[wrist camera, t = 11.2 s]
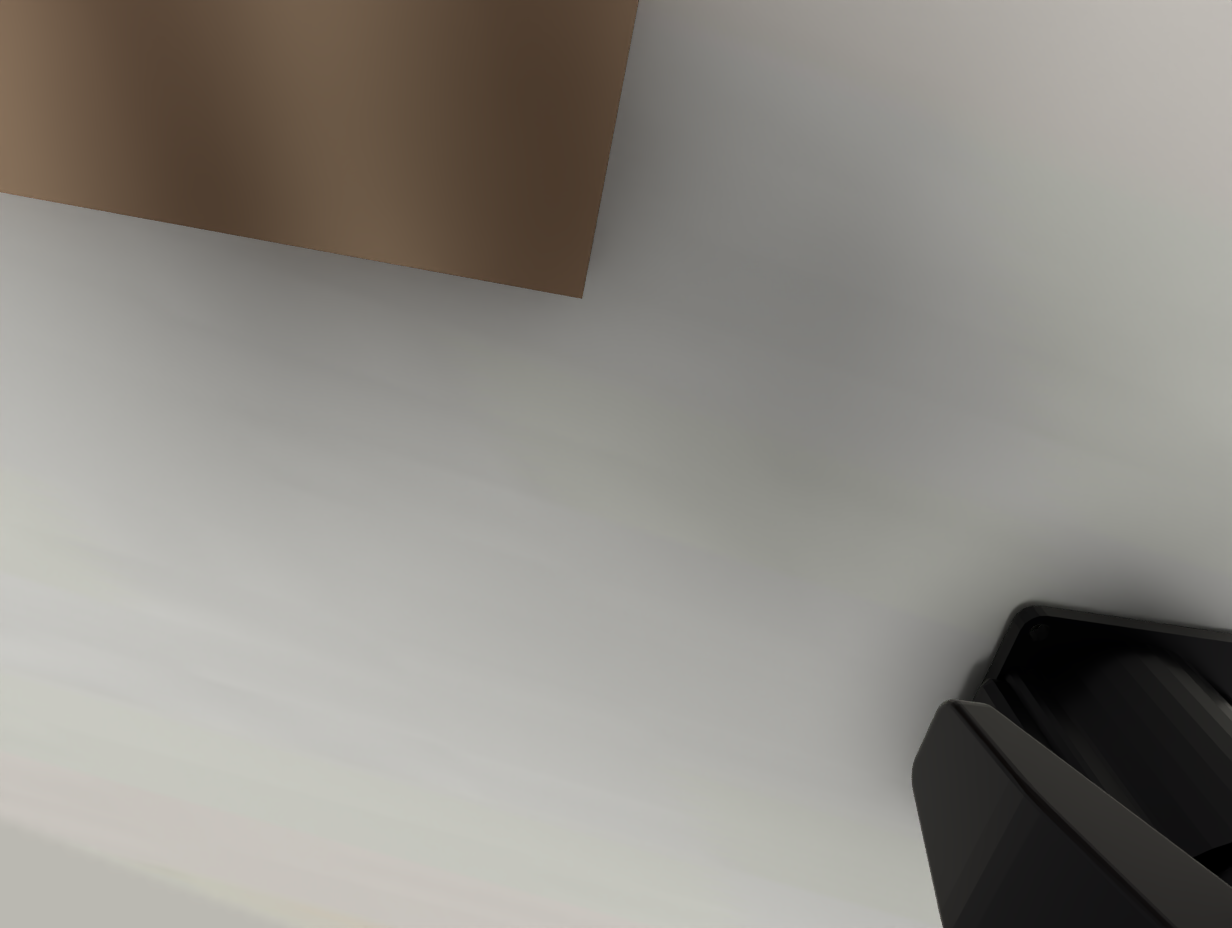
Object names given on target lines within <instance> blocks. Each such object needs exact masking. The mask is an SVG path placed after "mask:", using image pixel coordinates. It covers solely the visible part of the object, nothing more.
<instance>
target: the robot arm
mask: <svg viewBox="0 0 1232 928" xmlns="http://www.w3.org/2000/svg"><path fill="white" fill-rule="evenodd" d="M1038 624H1041V625H1040V627H1039V628H1037V629H1036V630H1034V631H1030V630H1031V629H1032V628H1033V627H1034V626H1036V625H1038ZM912 787H913V793H914V797H915V802H916V807H917V811H918V816H919V821H920V825H921V830H922V834H923V839H924V844H925V848H926V853H927V858H928V862H929V867H930V872H931V876H932V881H933V885H934V890H935V895H936V899H937V904H938V909H939V913H940V917H941V921H942V925H943V928H1232V634H1229V633H1222V632H1215V631H1208V630H1201V629H1195V628H1188V627H1181V626H1174V625H1167V624H1161V623H1154V622H1147V621H1140V620H1133V619H1127V618H1120V617H1113V616H1106V615H1099V614H1093V613H1086V612H1079V611H1072V610H1065V609H1058V608H1052V607H1045V606H1031V607H1028V608H1025V609H1023V610H1022V611H1020V612H1019V613H1017V615H1016V616H1015V617H1014V619H1013V620H1012V622H1011V625H1010V627H1009V629H1008V631H1007V633H1006V635H1005V637H1004V639H1003V641H1002V643H1001V646H1000V648H999V650H998V652H997V654H996V656H995V658H994V660H993V662H992V664H991V666H990V669H989V671H988V673H987V675H986V677H985V679H984V681H983V683H982V685H981V686H980V687H979V689H978V691H977V694H976V696H975V698H974V700H973V702H972V701H964V700H956V699H950V700H947V701H945V702H943V703H942V704H941V705H940V706H939V708H938V710H937V711H936V713H935V716H934V718H933V720H932V722H931V724H930V727H929V729H928V731H927V733H926V735H925V738H924V740H923V742H922V744H921V746H920V748H919V751H918V753H917V755H916V757H915V760H914V763H913V768H912Z"/></svg>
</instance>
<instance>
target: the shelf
mask: <svg viewBox="0 0 1232 928" xmlns="http://www.w3.org/2000/svg"><path fill="white" fill-rule="evenodd" d="M638 2H639V0H0V192H2V193H8V194H13V195H19V196H24V197H30V198H35V199H41V200H46V201H52V202H57V203H63V204H68V205H73V206H79V207H84V208H90V209H95V210H101V211H106V212H112V213H117V214H123V215H128V216H134V217H139V218H144V219H150V220H155V221H161V222H166V223H172V224H177V225H183V226H188V227H194V228H199V229H205V230H210V231H215V232H221V233H226V234H232V235H237V236H243V237H248V238H254V239H259V240H265V241H270V242H276V243H281V244H286V245H292V246H297V247H303V248H308V249H314V250H319V251H325V252H330V253H336V254H341V255H347V256H352V257H357V258H363V259H368V260H374V261H379V262H385V263H390V264H396V265H401V266H407V267H412V268H418V269H423V270H428V271H434V272H439V273H445V274H450V275H456V276H461V277H467V278H472V279H478V280H483V281H489V282H494V283H499V284H505V285H510V286H516V287H521V288H527V289H532V290H538V291H543V292H549V293H554V294H560V295H565V296H570V297H576V298H581V299H582V296H583V291H584V285H585V280H586V275H587V270H588V264H589V259H590V254H591V249H592V243H593V238H594V233H595V228H596V222H597V217H598V212H599V207H600V201H601V196H602V191H603V186H604V180H605V175H606V170H607V165H608V159H609V154H610V149H611V144H612V138H613V133H614V128H615V122H616V117H617V112H618V107H619V101H620V96H621V91H622V86H623V80H624V75H625V70H626V65H627V59H628V54H629V49H630V44H631V38H632V33H633V28H634V23H635V17H636V12H637V7H638Z"/></svg>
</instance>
